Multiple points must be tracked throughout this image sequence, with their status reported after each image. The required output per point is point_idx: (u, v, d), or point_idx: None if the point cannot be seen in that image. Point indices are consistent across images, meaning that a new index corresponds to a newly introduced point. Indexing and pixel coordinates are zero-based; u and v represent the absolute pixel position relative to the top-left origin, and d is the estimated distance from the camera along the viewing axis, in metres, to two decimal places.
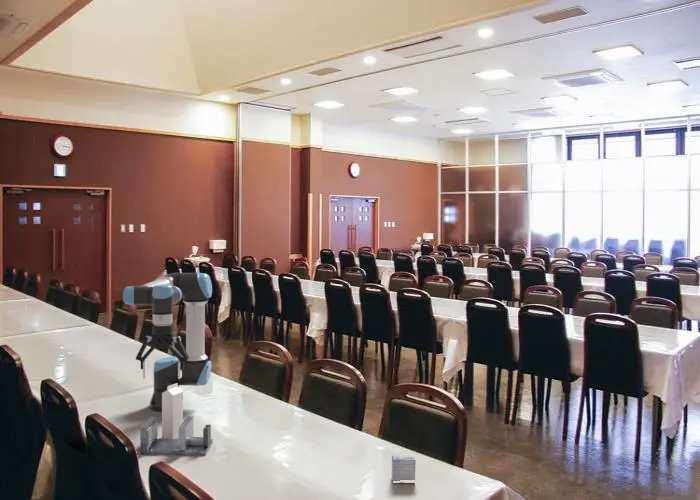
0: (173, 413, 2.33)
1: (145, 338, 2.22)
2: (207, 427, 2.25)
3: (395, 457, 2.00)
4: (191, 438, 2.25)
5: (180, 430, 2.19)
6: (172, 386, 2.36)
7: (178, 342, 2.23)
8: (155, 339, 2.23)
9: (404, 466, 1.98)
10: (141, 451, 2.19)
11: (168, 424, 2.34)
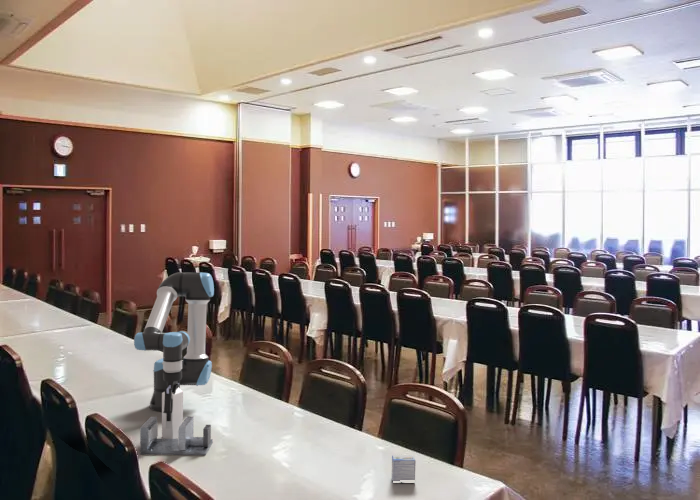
0: (173, 413, 2.33)
1: None
2: (207, 427, 2.25)
3: (395, 457, 2.00)
4: (191, 438, 2.25)
5: (180, 430, 2.19)
6: None
7: None
8: None
9: (404, 466, 1.98)
10: (141, 451, 2.19)
11: None
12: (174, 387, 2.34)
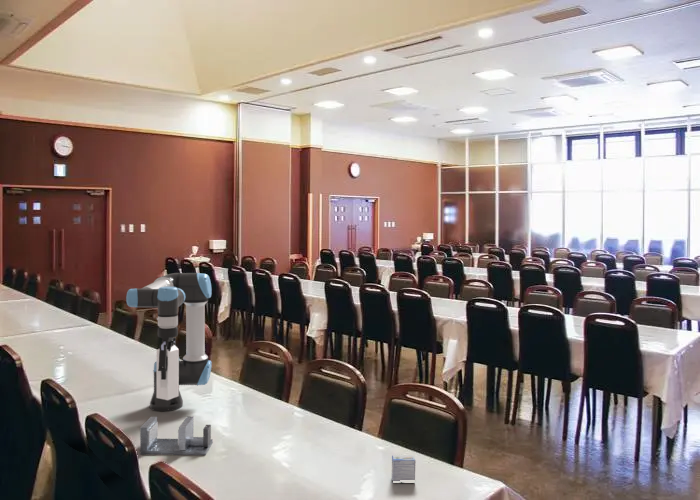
0: (168, 371, 2.20)
1: None
2: (207, 427, 2.25)
3: (395, 457, 2.00)
4: (191, 438, 2.25)
5: (180, 430, 2.19)
6: None
7: None
8: None
9: (404, 466, 1.98)
10: (141, 451, 2.19)
11: None
12: (169, 344, 2.21)
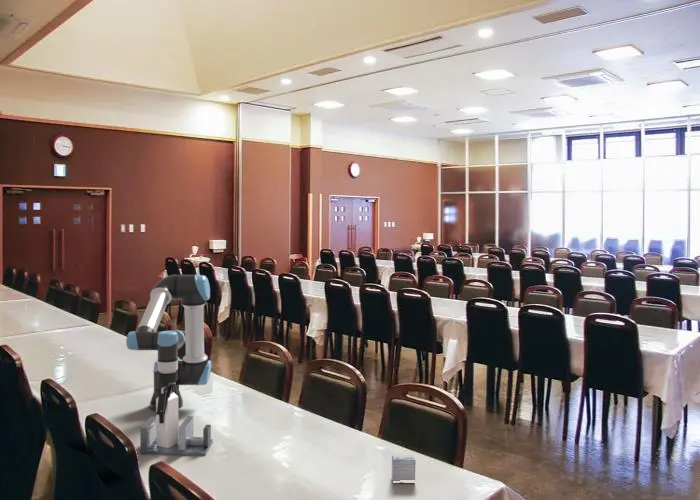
0: (168, 420, 2.21)
1: None
2: (207, 427, 2.25)
3: (395, 457, 2.00)
4: (191, 438, 2.25)
5: (180, 430, 2.19)
6: None
7: None
8: None
9: (404, 466, 1.98)
10: (141, 451, 2.19)
11: (163, 431, 2.22)
12: (169, 388, 2.22)
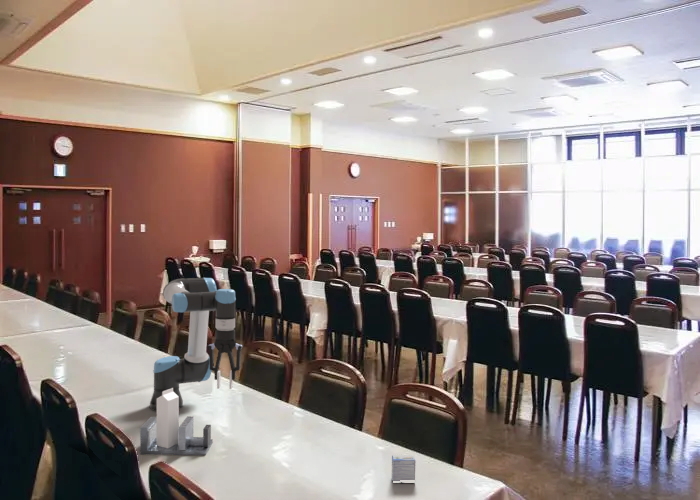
0: (168, 420, 2.21)
1: (209, 347, 2.22)
2: (207, 427, 2.25)
3: (395, 457, 2.00)
4: (191, 438, 2.25)
5: (180, 430, 2.19)
6: (167, 391, 2.24)
7: (239, 350, 2.23)
8: (218, 343, 2.22)
9: (404, 466, 1.98)
10: (141, 451, 2.19)
11: (163, 431, 2.22)
12: None
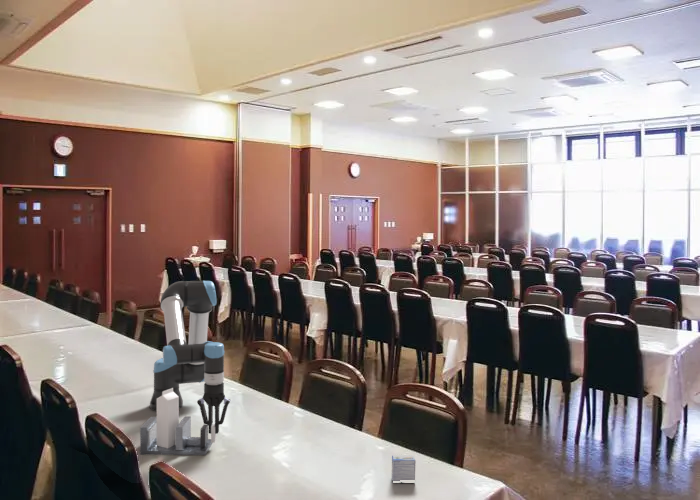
0: (168, 420, 2.21)
1: (198, 402, 2.23)
2: (205, 427, 2.25)
3: (395, 457, 2.00)
4: (188, 438, 2.25)
5: (177, 430, 2.19)
6: (167, 391, 2.24)
7: (226, 405, 2.24)
8: (206, 396, 2.23)
9: (404, 466, 1.98)
10: (141, 451, 2.19)
11: (163, 431, 2.22)
12: None
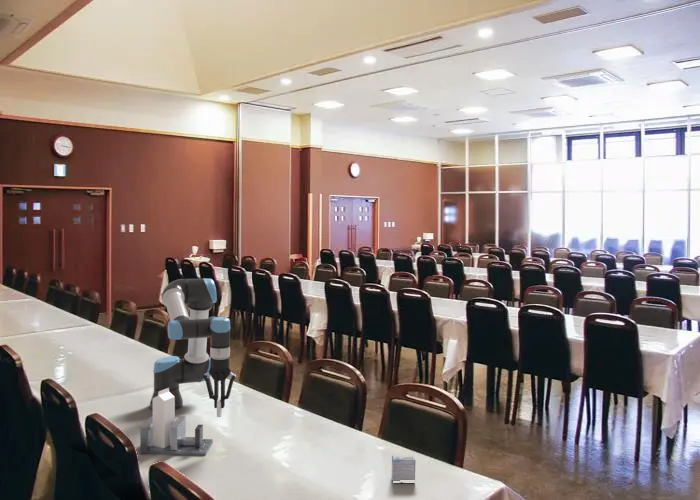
0: (164, 420, 2.21)
1: (204, 376, 2.23)
2: (199, 427, 2.25)
3: (395, 457, 2.00)
4: (183, 438, 2.25)
5: (172, 430, 2.19)
6: (163, 391, 2.24)
7: (232, 380, 2.23)
8: (212, 371, 2.23)
9: (404, 466, 1.98)
10: (141, 451, 2.19)
11: (160, 431, 2.22)
12: None
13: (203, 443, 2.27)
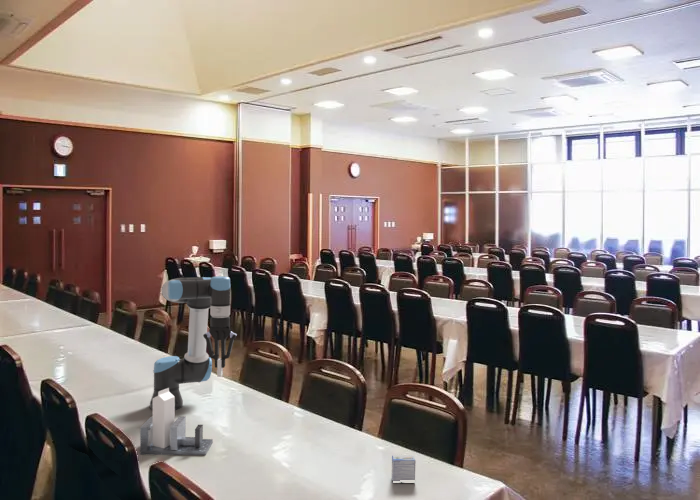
0: (164, 420, 2.21)
1: (204, 335, 2.22)
2: (199, 427, 2.25)
3: (395, 457, 2.00)
4: (183, 438, 2.25)
5: (172, 430, 2.19)
6: (163, 391, 2.24)
7: (232, 339, 2.22)
8: (213, 330, 2.22)
9: (404, 466, 1.98)
10: (141, 451, 2.19)
11: (160, 431, 2.22)
12: None
13: (203, 443, 2.27)
